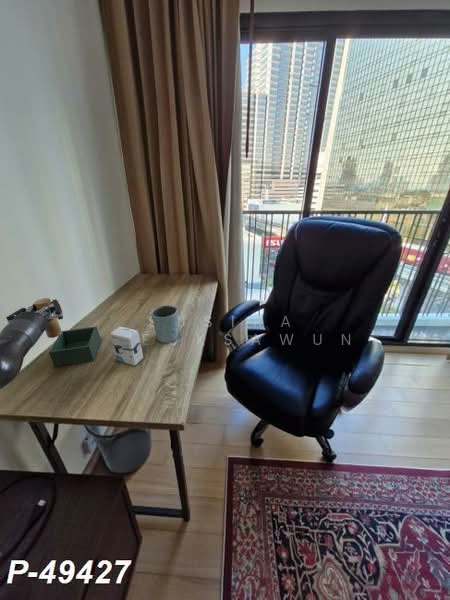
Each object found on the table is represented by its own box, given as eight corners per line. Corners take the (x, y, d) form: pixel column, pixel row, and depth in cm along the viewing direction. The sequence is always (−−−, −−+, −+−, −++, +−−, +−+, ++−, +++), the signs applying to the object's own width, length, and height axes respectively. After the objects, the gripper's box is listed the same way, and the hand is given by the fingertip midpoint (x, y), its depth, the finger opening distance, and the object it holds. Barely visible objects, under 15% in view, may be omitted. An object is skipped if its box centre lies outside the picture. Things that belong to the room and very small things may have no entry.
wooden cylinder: (45, 338, 79) (32, 304, 73) (50, 331, 82) (37, 299, 77) (59, 336, 79) (47, 303, 74) (63, 330, 83) (52, 297, 78)
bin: (54, 367, 87) (48, 352, 84) (66, 344, 99) (61, 331, 96) (93, 360, 90) (89, 346, 87) (100, 339, 102) (96, 326, 99)
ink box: (115, 360, 90) (108, 333, 85) (125, 352, 94) (119, 325, 89) (135, 366, 87) (128, 338, 82) (144, 357, 91) (138, 330, 86)
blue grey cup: (157, 346, 97) (152, 319, 92) (153, 332, 106) (149, 307, 100) (182, 340, 101) (179, 314, 95) (177, 327, 109) (174, 303, 104)
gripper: (49, 315, 64) (69, 289, 79) (-17, 323, 61) (17, 294, 76) (58, 340, 67) (76, 310, 82) (-4, 348, 64) (26, 316, 79)
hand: (47, 303), depth 79 cm, fingers closed on wooden cylinder, 4 cm apart
